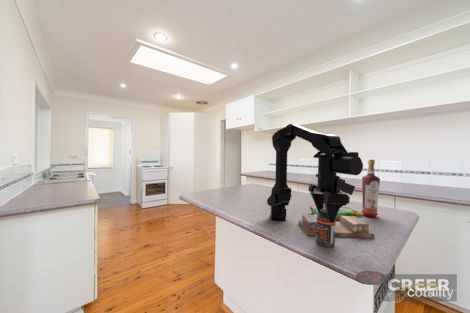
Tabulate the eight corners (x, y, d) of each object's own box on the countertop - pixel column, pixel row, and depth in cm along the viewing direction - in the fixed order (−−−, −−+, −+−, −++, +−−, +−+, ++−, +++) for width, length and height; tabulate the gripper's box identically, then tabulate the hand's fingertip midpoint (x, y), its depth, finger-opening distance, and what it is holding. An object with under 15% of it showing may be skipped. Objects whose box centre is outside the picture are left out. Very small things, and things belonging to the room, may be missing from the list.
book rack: (307, 235, 73) (307, 223, 73) (298, 223, 85) (298, 213, 85) (374, 238, 72) (374, 225, 72) (355, 225, 84) (355, 215, 84)
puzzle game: (309, 204, 102) (349, 205, 100) (309, 213, 102) (349, 214, 100) (317, 210, 90) (363, 212, 89) (317, 221, 90) (362, 222, 89)
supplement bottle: (312, 243, 67) (313, 209, 67) (319, 237, 71) (320, 206, 71) (331, 249, 63) (332, 214, 62) (337, 243, 67) (338, 210, 67)
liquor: (365, 217, 95) (367, 159, 94) (357, 213, 102) (359, 159, 102) (381, 218, 94) (384, 160, 94) (372, 213, 102) (374, 159, 101)
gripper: (369, 175, 57) (367, 229, 57) (338, 170, 75) (336, 210, 76) (329, 174, 57) (328, 228, 58) (308, 169, 76) (307, 209, 76)
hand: (325, 217), depth 67 cm, fingers open, 9 cm apart
